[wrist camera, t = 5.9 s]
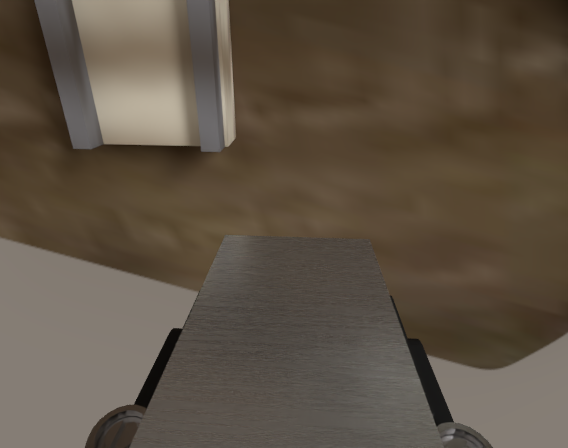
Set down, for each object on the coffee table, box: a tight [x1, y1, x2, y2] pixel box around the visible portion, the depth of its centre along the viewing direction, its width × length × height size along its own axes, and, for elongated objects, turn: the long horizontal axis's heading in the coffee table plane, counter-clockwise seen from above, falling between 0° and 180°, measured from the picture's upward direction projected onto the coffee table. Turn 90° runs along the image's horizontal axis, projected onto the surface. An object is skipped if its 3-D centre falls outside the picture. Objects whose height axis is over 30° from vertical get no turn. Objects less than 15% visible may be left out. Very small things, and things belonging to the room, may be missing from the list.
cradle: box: [34, 0, 236, 152], centre depth 21 cm, size 12×10×4 cm
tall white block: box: [129, 235, 444, 448], centre depth 9 cm, size 6×4×7 cm
